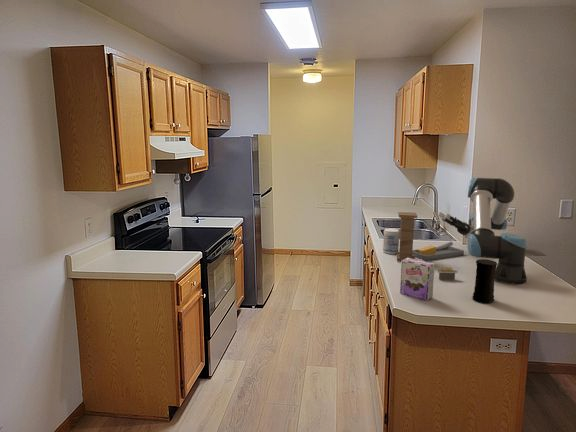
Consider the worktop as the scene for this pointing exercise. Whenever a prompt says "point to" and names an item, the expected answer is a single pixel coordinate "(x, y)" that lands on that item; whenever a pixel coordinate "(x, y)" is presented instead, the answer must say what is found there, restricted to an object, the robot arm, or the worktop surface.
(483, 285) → the container
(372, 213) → the worktop surface
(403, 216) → the brown wooden column
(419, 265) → the candy box
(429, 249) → the screwdriver
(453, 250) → the tray
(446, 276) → the platform
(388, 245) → the supplement tub
